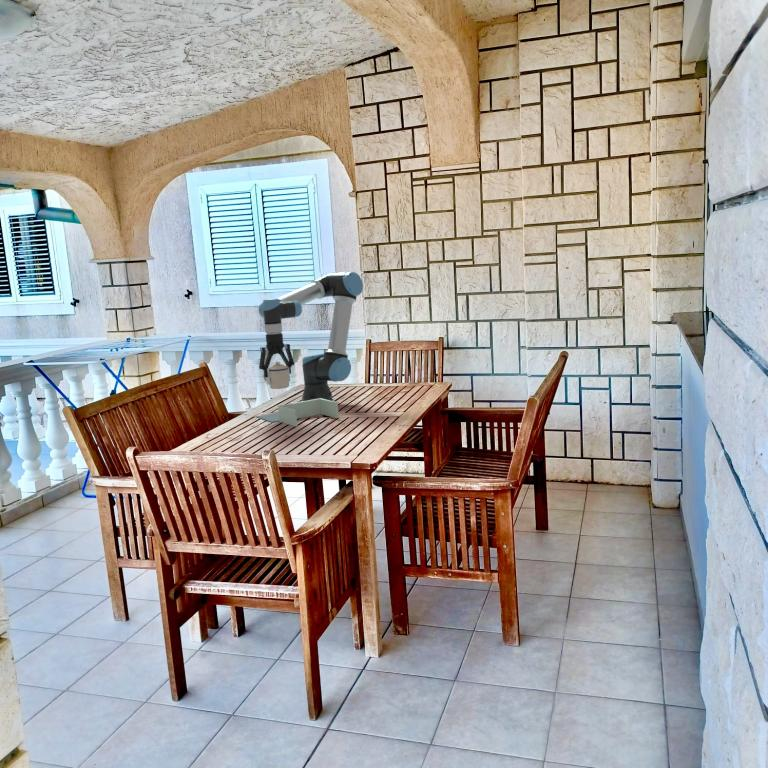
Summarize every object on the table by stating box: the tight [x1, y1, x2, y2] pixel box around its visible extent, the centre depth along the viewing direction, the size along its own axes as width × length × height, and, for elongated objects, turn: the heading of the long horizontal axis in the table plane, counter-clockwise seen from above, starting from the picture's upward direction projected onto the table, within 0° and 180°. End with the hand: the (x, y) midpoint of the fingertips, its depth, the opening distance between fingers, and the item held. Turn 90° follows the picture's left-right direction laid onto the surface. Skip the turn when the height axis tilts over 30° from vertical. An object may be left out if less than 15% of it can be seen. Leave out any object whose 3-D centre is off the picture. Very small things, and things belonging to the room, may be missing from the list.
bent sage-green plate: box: [277, 398, 340, 427], centre depth 324 cm, size 21×16×7 cm
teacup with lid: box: [262, 361, 290, 390], centre depth 333 cm, size 12×9×12 cm
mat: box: [255, 412, 280, 423], centre depth 337 cm, size 18×18×1 cm
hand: (278, 382), depth 334 cm, fingers closed on teacup with lid, 9 cm apart
